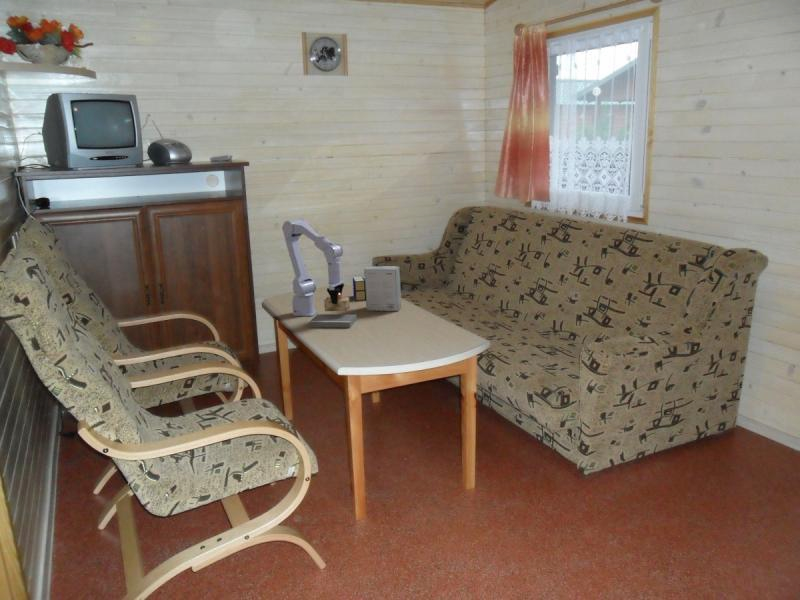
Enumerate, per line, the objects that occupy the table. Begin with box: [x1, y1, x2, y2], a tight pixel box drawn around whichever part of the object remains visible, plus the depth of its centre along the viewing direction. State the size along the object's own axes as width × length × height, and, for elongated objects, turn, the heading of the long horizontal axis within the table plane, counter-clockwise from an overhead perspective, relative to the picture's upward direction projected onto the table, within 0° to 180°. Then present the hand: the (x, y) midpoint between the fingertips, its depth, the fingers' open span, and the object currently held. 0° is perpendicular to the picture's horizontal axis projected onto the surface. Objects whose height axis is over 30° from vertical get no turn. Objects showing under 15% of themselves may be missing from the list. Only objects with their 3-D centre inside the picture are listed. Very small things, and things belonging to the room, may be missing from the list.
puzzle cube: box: [352, 275, 366, 301], centre depth 327 cm, size 10×10×10 cm
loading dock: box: [309, 313, 357, 329], centre depth 284 cm, size 18×12×3 cm, turn 81°
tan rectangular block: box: [323, 296, 351, 312], centre depth 288 cm, size 10×6×5 cm, turn 81°
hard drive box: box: [363, 265, 402, 312], centre depth 303 cm, size 16×8×20 cm, turn 74°
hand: (336, 302), depth 288 cm, fingers closed on tan rectangular block, 6 cm apart
